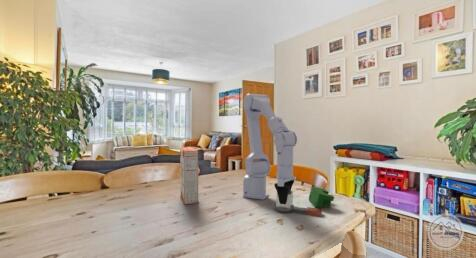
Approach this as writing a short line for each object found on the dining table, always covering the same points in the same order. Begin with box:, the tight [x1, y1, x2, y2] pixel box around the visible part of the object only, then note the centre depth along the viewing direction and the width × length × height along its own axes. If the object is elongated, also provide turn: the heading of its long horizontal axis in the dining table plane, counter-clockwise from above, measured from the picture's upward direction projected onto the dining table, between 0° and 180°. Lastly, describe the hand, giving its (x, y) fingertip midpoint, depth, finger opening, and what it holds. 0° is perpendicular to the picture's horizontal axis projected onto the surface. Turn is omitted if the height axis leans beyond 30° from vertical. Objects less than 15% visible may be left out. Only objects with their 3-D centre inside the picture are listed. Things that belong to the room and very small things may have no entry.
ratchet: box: [274, 203, 323, 217], centre depth 91 cm, size 16×7×4 cm, turn 68°
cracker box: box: [179, 146, 199, 206], centre depth 104 cm, size 14×6×21 cm, turn 18°
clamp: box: [308, 185, 335, 209], centre depth 100 cm, size 12×6×9 cm, turn 172°
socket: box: [275, 190, 294, 209], centre depth 93 cm, size 5×5×5 cm
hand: (284, 201), depth 93 cm, fingers closed on socket, 5 cm apart
